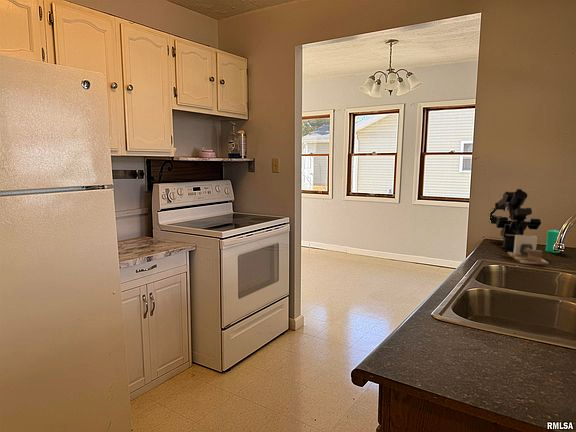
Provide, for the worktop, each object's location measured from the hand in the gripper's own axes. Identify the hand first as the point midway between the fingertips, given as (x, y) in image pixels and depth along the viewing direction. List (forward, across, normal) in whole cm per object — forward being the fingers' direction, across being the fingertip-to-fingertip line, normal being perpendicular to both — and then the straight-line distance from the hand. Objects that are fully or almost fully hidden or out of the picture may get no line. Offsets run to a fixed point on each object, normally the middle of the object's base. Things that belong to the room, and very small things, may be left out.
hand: (521, 237), depth 189 cm
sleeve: (+9, 0, +1) cm, 9 cm away
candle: (-3, +20, +15) cm, 25 cm away
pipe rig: (+12, 0, 0) cm, 12 cm away
